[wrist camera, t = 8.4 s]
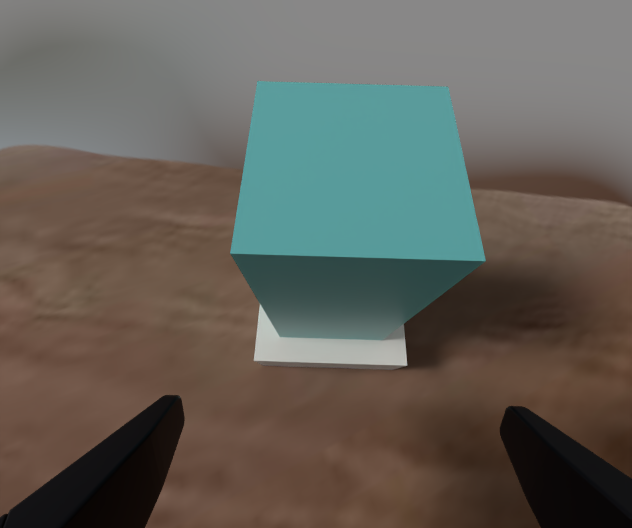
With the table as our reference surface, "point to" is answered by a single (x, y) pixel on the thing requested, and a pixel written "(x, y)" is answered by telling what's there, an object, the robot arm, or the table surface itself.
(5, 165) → the table surface
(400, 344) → the base brick
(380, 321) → the tall brick
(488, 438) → the table surface
